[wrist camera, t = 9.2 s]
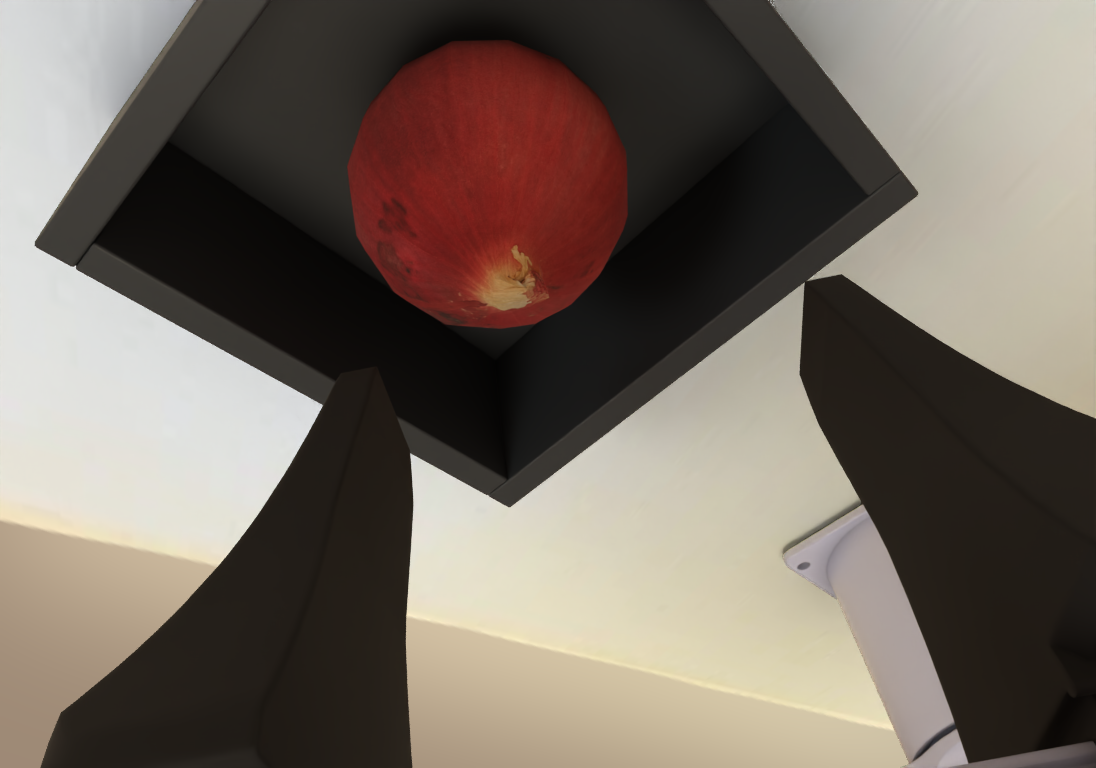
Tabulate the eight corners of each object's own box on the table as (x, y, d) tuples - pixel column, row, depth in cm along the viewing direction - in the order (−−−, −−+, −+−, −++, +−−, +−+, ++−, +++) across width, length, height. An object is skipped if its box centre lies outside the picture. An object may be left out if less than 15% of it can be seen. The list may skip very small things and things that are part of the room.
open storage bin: (824, 89, 22) (920, 194, 18) (495, 374, 27) (509, 508, 23) (455, -376, 15) (468, -382, 11) (111, 122, 20) (31, 246, 16)
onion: (491, 257, 23) (516, 468, 17) (310, 130, 20) (266, 332, 14) (643, 102, 21) (734, 285, 15) (463, -69, 18) (485, 75, 12)
